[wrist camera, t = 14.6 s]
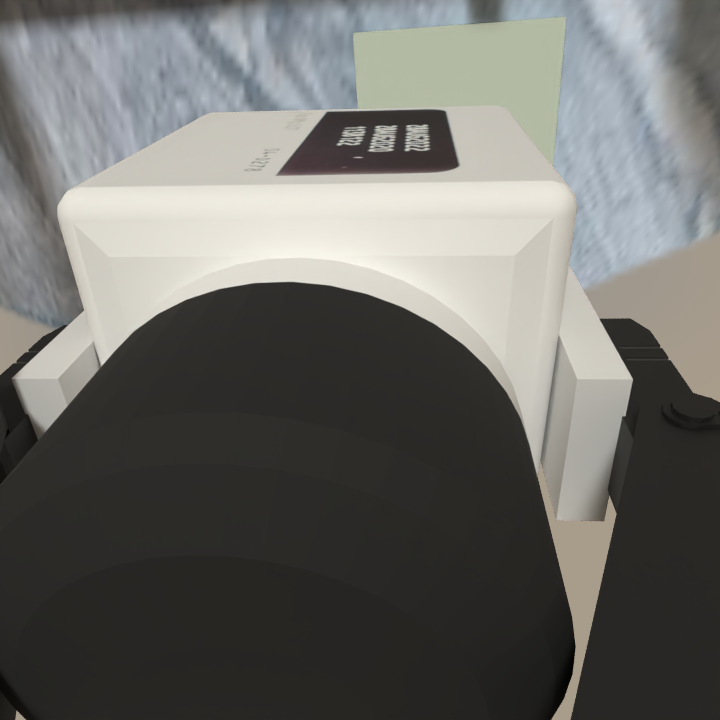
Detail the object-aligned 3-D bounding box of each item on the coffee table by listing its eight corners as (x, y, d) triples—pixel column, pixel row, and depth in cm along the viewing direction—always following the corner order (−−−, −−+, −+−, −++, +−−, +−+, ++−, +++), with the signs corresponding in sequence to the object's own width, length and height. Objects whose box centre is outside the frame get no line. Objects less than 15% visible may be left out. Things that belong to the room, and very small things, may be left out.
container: (201, 110, 16) (-354, 399, 4) (512, 102, 15) (794, 421, 4) (241, 371, 19) (3, 873, 8) (489, 374, 19) (592, 928, 8)
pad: (366, 229, 35) (366, 233, 35) (354, 32, 30) (352, 33, 30) (545, 221, 34) (547, 225, 34) (563, 16, 29) (566, 17, 29)
